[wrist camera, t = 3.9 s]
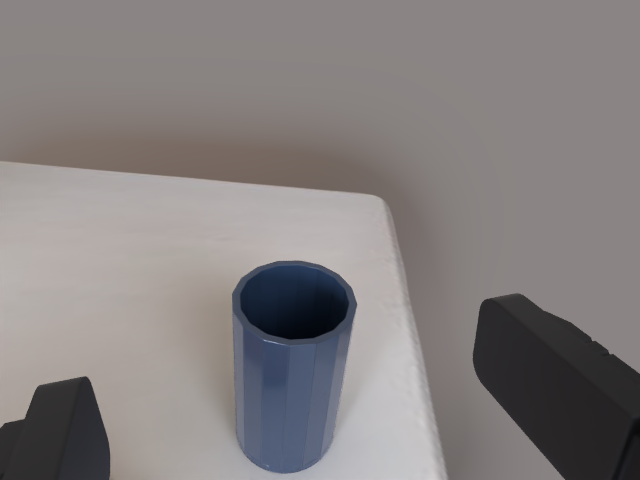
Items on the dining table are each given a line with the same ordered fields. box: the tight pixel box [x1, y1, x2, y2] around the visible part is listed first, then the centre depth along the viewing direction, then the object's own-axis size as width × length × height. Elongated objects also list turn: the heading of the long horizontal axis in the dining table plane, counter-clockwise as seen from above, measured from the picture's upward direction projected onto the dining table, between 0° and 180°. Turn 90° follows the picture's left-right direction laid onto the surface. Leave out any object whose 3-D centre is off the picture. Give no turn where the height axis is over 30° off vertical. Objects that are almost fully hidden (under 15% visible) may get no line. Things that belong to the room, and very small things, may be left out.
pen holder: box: [232, 261, 357, 473], centre depth 26 cm, size 6×6×11 cm
